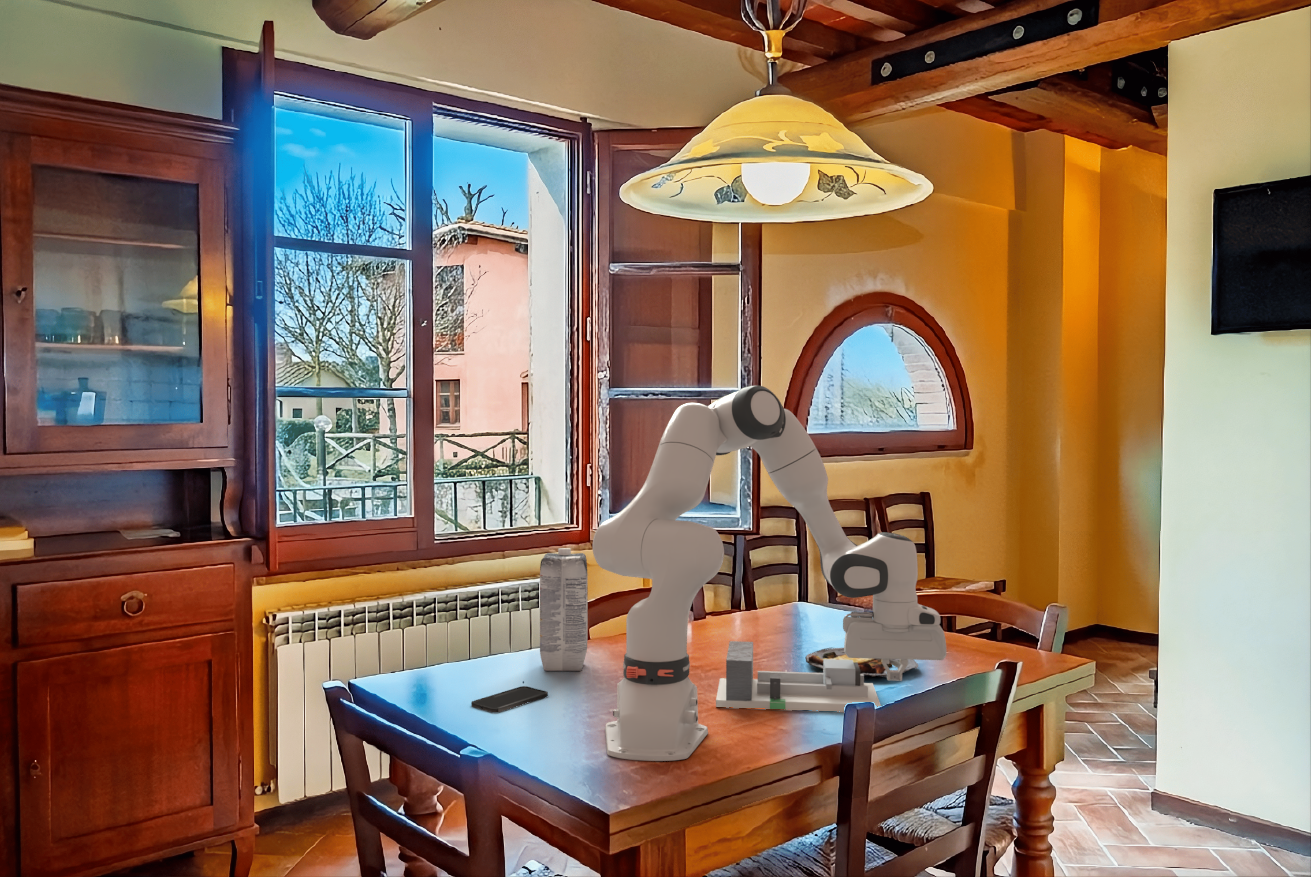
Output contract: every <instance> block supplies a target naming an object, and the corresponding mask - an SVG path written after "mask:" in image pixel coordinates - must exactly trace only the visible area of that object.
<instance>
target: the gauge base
mask: <svg viewBox="0 0 1311 877" xmlns="http://www.w3.org/2000/svg"><path fill="white" fill-rule="evenodd" d="M770 674H778V675H780V699H776V700H774V698H770ZM718 681H719V682H718V687H717V693H716V697H715V708H716V707H726V708H725V709H730V708H729V707H733V708H732V709H739V708H765V709H764V710H766V709H784V710H783V711H792V710H812V711H811V712H819V711H837V712H836V713H845V712H844V707H845V705H846V704H847V703H852V702H874V703H875V705H876V706H877V707H878V706H881V707H882V705H881V703H880V700H879V696H878V694H877V691H876V688H875V686H874V683H873V682H865V675H863V674H860V686H851V685H832V689H826V685H823V672H806V671H805V672H804V671H802V672H801V671H799V672H798V671H779V670H778V671H776V670H775V671H774V670H771V671H770V670H757V678H756V679H755V678H753V687H752V700H750V701H749V700H746V701H727V700H726V677H725V678H723V677H722V678H721V677H720V678H719V680H718ZM785 709H786V710H785ZM788 709H790V710H788ZM816 710H818V711H816ZM839 711H840V712H839Z"/></svg>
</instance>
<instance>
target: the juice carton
mask: <svg viewBox="0 0 1311 877" xmlns="http://www.w3.org/2000/svg"><path fill="white" fill-rule="evenodd" d="M571 549H572V548H570V547H569V548H567V547H566V548H564V547H562V548H558V549H557V553H553V552H547V553H545V554H544V556H543V557H542V559H541V560H540V563H539V564H540V565H539V567H540V569H539V655H540V659H541V664H542V668H543V671H545V672H546V671H547V672H561V671H562V672H567V671H568V672H580V671H582V669H583V666H584V662H585V660H586V654H587V651H588V601H589V600H588V598H589V597H588V595H589V594H588V592H589V591H588V562H587V559H588V558H587V556H586V554H585V553H583V552H578V553H571V552H572V551H571Z"/></svg>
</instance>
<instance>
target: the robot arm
mask: <svg viewBox="0 0 1311 877" xmlns="http://www.w3.org/2000/svg"><path fill="white" fill-rule="evenodd" d="M748 447H750V448H752V449H753V450H754V451H755V452H756V453H757V454H758V455H759V457H760V461H761V462H762V464H763V466H764V469H765V470H766V472H767V474H768V476H769V478H770V480H771V481H772V483H773V484H774V486H775V488H777V490H778V492H779V493H780V494H781V495H782V496H783V498H784V499H785V500H786V501H787V503H789V504H790V505H791V506H792V507H794V508H795V509H796V510H797V512H798V513H799V514H800V515H801V517H802V518H803V521H804V522H805V524H806V526H807V528H808V530H809V532H810V534H811V535H812V538H813V539H814V541H815V543H816V546H817V547H818V551H819V560H820V562H819V563H820V570H821V573H822V576H823V579H825V581H826V582H827V584H829V585H830V586H832V588H833V589H834V590H835V591H836V593H838V594H840V595H841V596H843V597H845V598H848V599H849V598H851V599H859V598H864V597H871V596H872V611H861V612H860V611H850V613H848V614H846V615H845V616H844V617H843V619H842V629H843V631H844V633H845V634H844V635H845V636H844V644H843V645H844V646H843V648H844V652H845V654H846V655H847V656H848V657H849V658H875V659H881V662H882V664H883V666H884V668H885V669H886V671H887V677H886V680H887V681H895V682H897V681H898V682H900V681H901V682H902V681H903V672H904V670H905V668H906V667H907V665H908V659H910V660H914V661H943V660H945V658H946V656H947V642H946V635H945V631H944V630H943V628H942V626H941V625H940V624H941V615H940V613H939V612H938V611H937V610H935V609H934V608H932V607H930V606H929V607H928V606H925V605H922V604H919V603H918V594H917V590H916V586H917V582H918V576H919V575H918V574H919V573H918V572H919V570H918V566H919V565H918V555H917V553H918V552H917V547H916V545H915V543H914V541H913V540H912V539H910V538H909V537H908V536H905V535H901V534H898V533H894V532H886V531H885V532H884V531H883V532H878V533H877V534H876V535H875V536H874V537H872V538H871V539H869V540H867V541H865V542H863V543H861V544H856V543H855V542H853V541H852V540H850V538H849V537H848V536H847V535H846V533H845V532H844V530H843V528H842V526H841V523H840V521H839V520H838V518H837V516H836V514H835V512H834V510H833V508H832V507H831V504H830V501H829V497H828V484H829V483H828V482H829V477H828V473H827V469H826V468H825V467H826V466H825V465H824V461H823V459H822V457H821V454H820V452H819V450H818V448H817V447H816V445H815V442H814V441H813V440H812V438H811V437H810V435H809V433H808V432H807V431H806V429H805V427H804V426H803V425H802V423H801V421H799V419H798V418H797V417H796V415H794V413H793V412H792V411H790V410H789V409H787V408H784V406H783V404H782V402H781V401H780V399H779V398H778V397H777V396H776V394H775V393H774V391H773V392H772V390H771V389H769V388H767V387H765V386H763V385H750V386H745V387H742V388H740V389H739V390H737V391H734V392H732V393H730V394H726V395H723V396H722V397H720V398H717V399H716V400H715V401H713V402H711V404H709V405H705V404H704V403H699V402H687V403H684V404H681V405H680V406H679V407H677V408H676V409H675V411H674V413H673V414H672V416H671V417H670V419H669V421H668V423H667V425H666V427H665V429H664V431H663V433H662V436H661V438H660V441H659V443H658V446H657V450H656V451H655V452H656V453H655V455H654V459H653V461H652V465H651V466H650V469H649V472H648V475H647V477H646V479H645V482H644V483H643V486H642V487H641V488H640V490H639V492H638V493H637V494H636V495H635V497H633V499H632V500H631V501H630V502H629V503H628V504H627V505H626V506H625V507H624V508H623V509H622V510H621V511H619V512H618V513H617V514H614V515H613V516H612V517H610V518H608V519H605V520H604V521H603V522H601V524H600V525H599V526H598V527H597V528H596V531H595V533H594V535H593V540H592V553H593V557H594V560H595V562H596V564H597V565H598V567H599V568H602V570H605V571H608V572H611V573H612V574H613V573H614V574H616V575H619V576H621V577H631V578H641V579H649V580H651V581H652V583H651V584H652V586H651V591H650V593H649V595H648V597H646V598H643V599H641V600H640V601H638V602H637V603H635V604H634V605H633V606H631V608H630V609H629V611H628V613H627V616H626V619H625V620H626V621H625V622H626V633H625V634H626V644H625V645H626V651H625V654H624V658H623V662H622V663H623V665H622V667H623V671H622V672H623V674H622V675H623V678H622V680H620V681H619V682H617V683H616V684H617V685H616V690H617V691H616V692H617V694H616V709H613V710H612V716H613V718H616V720H612V721H608V722H606V723H605V726H604V727H605V728H604V732H605V743H606V753H607V755H608V756H611V757H613V758H617V759H623V760H624V759H625V760H633V761H645V762H646V761H648V762H649V761H650V762H651V761H652V762H654V761H655V762H663V761H664V762H666V761H667V762H668V761H669V762H671V761H680V760H685V759H688V758H689V757H690V756H691V755H692V753H693V752H694V751H695V750H696V749H697V747H698V746H699V745H700V744H701V742H702V741H703V740H704V739H705V737H706V736H707V735H708V734H709V729H708V728H709V727H708V726H706V725H704V724H701V723H699V709H698V708H699V707H698V706H699V704H698V702H699V701H698V687H697V685H696V684H695V683H694V682H692V681H691V678H690V677H689V676H690V666H691V664H690V663H691V662H690V655H689V654H688V653H687V652H688V650H687V649H688V630H689V628H688V627H689V626H688V625H689V616H690V611H691V607H692V604H693V602H694V600H695V598H696V596H697V594H698V592H699V591H700V590H701V589H702V588H703V587H704V586H705V585H706V584H707V583H708V582H709V581H711V580H712V579H713V578H714V577H715V576H716V575H717V574H718V573H719V571H720V570H721V568H722V566H723V562H724V558H725V549H724V548H725V547H724V544H723V540H722V538H721V536H720V534H719V533H718V531H717V530H716V529H715V528H714V527H710V526H708V525H704V524H701V523H697V522H694V521H691V520H690V521H689V520H677V519H678V518H679V517H680V516H682V515H683V514H685V513H687V512H689V511H691V510H693V509H695V508H696V507H698V505H700V504H701V502H702V501H703V499H704V498H705V494H706V491H707V487H708V485H709V480H710V477H711V473H712V470H713V466H714V463H715V460H716V457H717V456H724V455H729V454H730V453H732V452H735V451H739V450H742V449H746V448H748ZM889 659H900V663H901V666H900V667H899V669H898V668H897V669H890V667H888V666H887V664H889ZM886 663H887V664H886ZM904 673H905V672H904Z"/></svg>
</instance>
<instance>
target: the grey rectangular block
mask: <svg viewBox="0 0 1311 877" xmlns="http://www.w3.org/2000/svg"><path fill="white" fill-rule="evenodd" d="M725 664H726V665H725V666H726V667H725V673H726V674H725V678H726V700H727V701H746V700H749V701H750V700H752V687H753V679H754V641H739V640H738V641H736V640H735V641H734V640H730V641H729V643H728V648H727V655H726V663H725Z"/></svg>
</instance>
